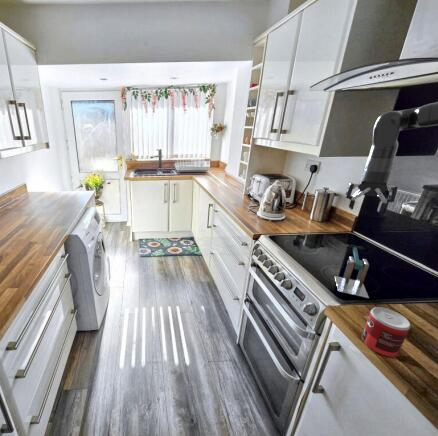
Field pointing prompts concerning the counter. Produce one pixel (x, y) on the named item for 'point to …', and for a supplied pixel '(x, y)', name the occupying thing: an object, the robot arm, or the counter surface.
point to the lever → (356, 256)
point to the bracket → (353, 285)
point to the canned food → (385, 331)
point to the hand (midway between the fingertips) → (364, 210)
